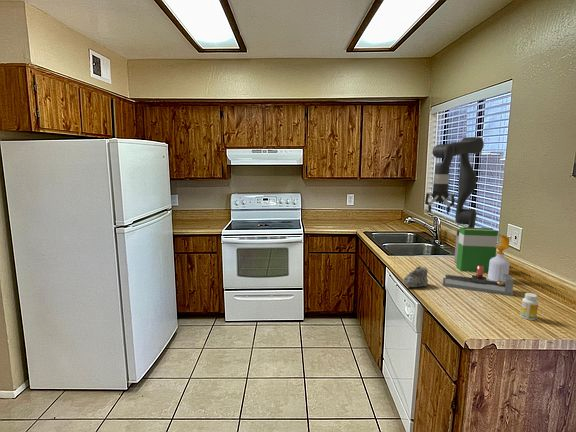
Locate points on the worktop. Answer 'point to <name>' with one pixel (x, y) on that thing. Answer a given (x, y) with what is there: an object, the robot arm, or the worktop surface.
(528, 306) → the supplement bottle
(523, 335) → the worktop surface
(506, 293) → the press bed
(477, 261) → the hardback book
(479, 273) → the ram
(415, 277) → the mineral rock
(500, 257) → the soap bottle
